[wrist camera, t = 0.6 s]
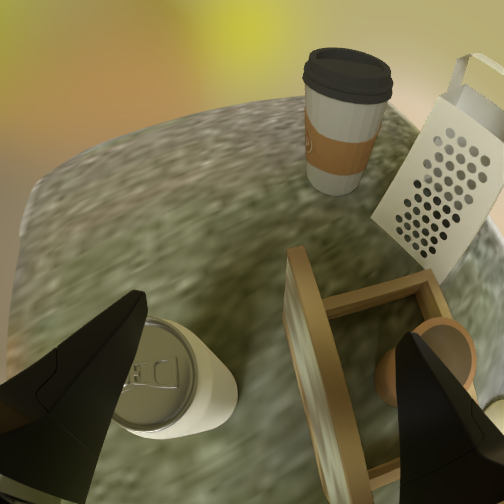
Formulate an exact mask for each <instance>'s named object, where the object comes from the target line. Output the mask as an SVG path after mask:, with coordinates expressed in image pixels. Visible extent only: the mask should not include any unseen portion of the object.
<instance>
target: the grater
mask: <svg viewBox="0 0 504 504" xmlns="http://www.w3.org/2000/svg"><path fill="white" fill-rule="evenodd" d="M471 56H474V57H476V58H477V59H479V60H481V61H482V62H484V63H486V64H487V65H489V66H490V67H492V68H494V69H495V70H496V71H498V72H499V73H501V74H502V75H504V67H502V66H501V65H499V64H498V63H496V62H495V61H493V60H491V59H490V58H488V57H487V56H485V55H483V54H482V53H474V54H468V55H466V56H463V57H460V58H458V59H457V60H456V64H455V67H454V71H453V74H452V77H451V81H450V84H449V87H448V90H447V92H446V93H444V94H441V95H439V96H438V98H437V100H436V102H435V104H434V107H433V108H432V110H431V112H430V114H429V116H428V118H427V120H426V122H425V124H424V126H423V128H422V130H421V132H420V133H419V135H418V137H417V139H416V141H415V143H414V145H413V146H412V148H411V150H410V152H409V154H408V155H407V157H406V159H405V161H404V162H403V164H402V166H401V168H400V169H399V171H398V173H397V175H396V176H395V178H394V180H393V181H392V183H391V185H390V186H389V188H388V190H387V191H386V193H385V195H384V196H383V198H382V200H381V201H380V203H379V205H378V206H377V208H376V209H375V211H374V213H373V214H372V216H371V217H370V218H371V219H373V220H374V221H375V222H376V223H377V224H378V225H379V226H380V227H381V228H382V229H384V230H385V231H386V232H387V233H388V234H389V235H390V236H391V237H392V238H393V239H394V240H395V241H396V242H397V243H399V244H400V245H401V246H402V247H403V248H404V249H405V250H406V251H407V252H408V253H409V254H410V255H411V256H412V257H413V258H414V259H415V260H416V261H417V262H418V263H419V264H420V265H421V266H422V267H423V268H424V269H425V270H427V269H430V268H431V269H432V271H433V273H434V275H435V278H436V280H437V282H438V284H439V285H440V284H441V283H442V282H443V280H444V279H445V278H446V277H447V275H448V274H449V273H450V271H451V270H452V269H453V267H454V266H455V265H456V263H457V262H458V260H459V259H460V258H461V255H463V253H464V252H465V251H466V248H468V245H470V242H472V239H474V236H476V233H478V231H479V229H480V228H481V226H482V224H483V223H484V221H485V219H486V218H487V216H488V214H489V212H490V211H491V209H492V207H493V205H494V203H495V202H496V200H497V198H498V196H499V194H500V192H501V190H502V188H503V186H504V111H503V110H502V109H501V108H500V107H498V106H497V105H496V104H494V103H493V102H491V101H490V100H489V99H487V98H486V97H485V96H483V95H481V94H480V93H479V92H477V91H476V90H474V89H473V88H471V87H470V86H468V85H467V84H465V85H463V86H461V83H462V80H463V76H464V73H465V70H466V66H467V63H468V60H469V57H471ZM416 180H419V181H420V182H421V185H422V186H421V188H420V189H417V188H415V186H414V184H413V182H415V181H416ZM424 188H429V189H430V191H431V196H430V197H426V196H425V195H424V194H423V189H424ZM415 194H419V195H421V197H422V202H420V203H418V202H416V201H415V199H414V195H415ZM435 196H438V197H439V198H440V199H441V204H440V205H439V206H437V205H435V204H434V202H433V198H434V197H435ZM405 199H409V200H410V201H411V207H406V206H405V205H404V200H405ZM425 202H429V203H430V204H431V210H430V211H427V210H425V208H424V206H423V204H424V203H425ZM444 205H448V206H449V207H450V209H451V212H450V213H449V214H445V213H444V212H443V209H442V208H443V206H444ZM414 207H418V208H419V209H420V214H419V215H415V214H414V213H413V208H414ZM435 210H437V211H439V212H440V214H441V218H440V219H435V218H434V216H433V212H434V211H435ZM405 212H409V213H410V214H411V216H412V219H411V220H407V219H406V218H405V216H404V214H405ZM453 214H458V215H459V217H460V222H459V223H455V222H454V221H453V220H452V215H453ZM396 215H400V216H401V217H402V219H403V221H402V222H401V223H399V222H397V221H396ZM423 215H427V216H428V217H429V219H430V221H429V223H428V224H426V223H424V222H423V221H422V216H423ZM443 219H447V220H449V222H450V227H449V228H445V227H444V226H443V225H442V220H443ZM414 220H418V221H419V222H420V227H419V228H416V227H415V226H414V225H413V221H414ZM405 222H407V223H409V224H410V225H411V229H410V230H406V229H405V228H404V223H405ZM432 223H435V224H437V226H438V228H439V229H438V231H437V232H434V231H432V229H431V224H432ZM397 227H400V228H401V229H402V230H403V234H402V235H399V234H398V233H397V232H396V228H397ZM423 228H426V229H428V231H429V236H424V235H423V234H422V229H423ZM414 230H416V231H418V233H419V235H420V236H419V238H415V237H414V236H413V234H412V232H413V231H414ZM440 232H445V233H446V234H447V239H446V240H442V239H441V238H440V236H439V234H440ZM406 234H407V235H409V236H410V237H411V241H410V242H407V241H405V239H404V235H406ZM432 236H435V237H436V238H437V239H438V243H437V244H433V243H432V242H431V241H430V238H431V237H432ZM422 238H425V239H426V240H427V241H428V245H427V246H423V245H422V244H421V239H422ZM414 242H416V243H417V244H418V245H419V250H415V249H414V248H413V246H412V244H413V243H414ZM430 246H433V247H434V248H435V249H436V253H435V254H431V253H430V252H429V247H430ZM421 250H424V251H426V253H427V257H426V258H423V257H422V256H421V255H420V251H421Z"/></svg>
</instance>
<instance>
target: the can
mask: <svg viewBox="0 0 504 504" xmlns="http://www.w3.org/2000/svg"><path fill="white" fill-rule="evenodd" d="M237 399H238V390H237V385H236V381H235V379H234V377H233V375H232V373H231V372H230V371H229V369H228V368H227V367H226V366H225V365H224V364H223V363H222V362H221V361H220V360H219V359H218V358H217V357H216V355H215V354H214V353H213V352H212V351H211V350H210V349H209V348H208V347H207V346H206V345H205V344H204V343H203V342H202V341H201V340H200V339H199V338H198V337H197V336H196V335H195V334H194V333H192V332H191V331H190V330H188V329H187V328H185V327H184V326H182V325H180V324H178V323H175V322H173V321H170V320H165V319H159V318H156V317H151V316H147V318H146V321H145V325H144V328H143V332H142V335H141V339H140V342H139V346H138V349H137V353H136V356H135V359H134V361H133V364H132V366H131V369H130V371H129V374H128V376H127V379H126V382H125V384H124V387H123V389H122V392H121V395H120V397H119V400H118V403H117V405H116V408H115V411H114V414H113V417H112V419H111V421H112V422H114V423H115V424H117V425H118V426H120V427H122V428H124V429H126V430H128V431H130V432H132V433H134V434H136V435H138V436H141V437H145V438H151V439H168V438H175V437H180V436H185V435H190V434H195V433H199V432H203V431H207V430H210V429H213V428H216V427H218V426H220V425H221V424H223V423H224V422H225V421H226V420H227V419H228V418H229V417H230V416H231V415H232V413H233V411H234V409H235V407H236V404H237Z"/></svg>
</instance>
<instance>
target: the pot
mask: <svg viewBox="0 0 504 504" xmlns="http://www.w3.org/2000/svg"><path fill="white" fill-rule="evenodd" d="M412 332H416V333H418V334H419V335H420V336H421V338H422V339H423V340H424V341H425V342H426V343H427V344H428V345H429V347H430V348H431V349H432V350H433V351H434V352H435V353H436V355H437V356H438V357H439V358H440V359H441V360H442V362H443V363H444V364H445V365H446V366H447V368H448V369H449V370H450V371H451V372H452V373H453V375H454V376H455V377H456V378H457V380H458V381H459V382H460V383H461V384H462V386H463V387H464V388H465V389H466V391H467V390H468V389H469V387H470V385H471V384H472V381H473V379H474V376H475V372H476V364H477V358H476V350H475V346H474V343H473V341H472V338H471V336H470V335H469V333H468V332H467V330H466V329H465V328H464V327H463V326H462V325H461V324H459V323H458V322H456V321H454V320H452V319H450V318H445V317H436V318H431V319H429V320H427V321H425V322H423V323H422V324H420V325H419V326H418V327H416V328H415V329H414V330H413V331H412ZM395 348H396V346H395V347H394V348H392V349H391V350H389V351H387V352H386V353H385V354H384V355H383V356H382V357H381V359H380V360H379V362H378V363H377V366H376V369H375V373H374V385H375V389H376V392H377V394H378V396H379V397H380V398H381V399H382V401H383V402H385V403H386V404H388V405H389V406H392V407H396V408H397V397H396V376H395Z"/></svg>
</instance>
